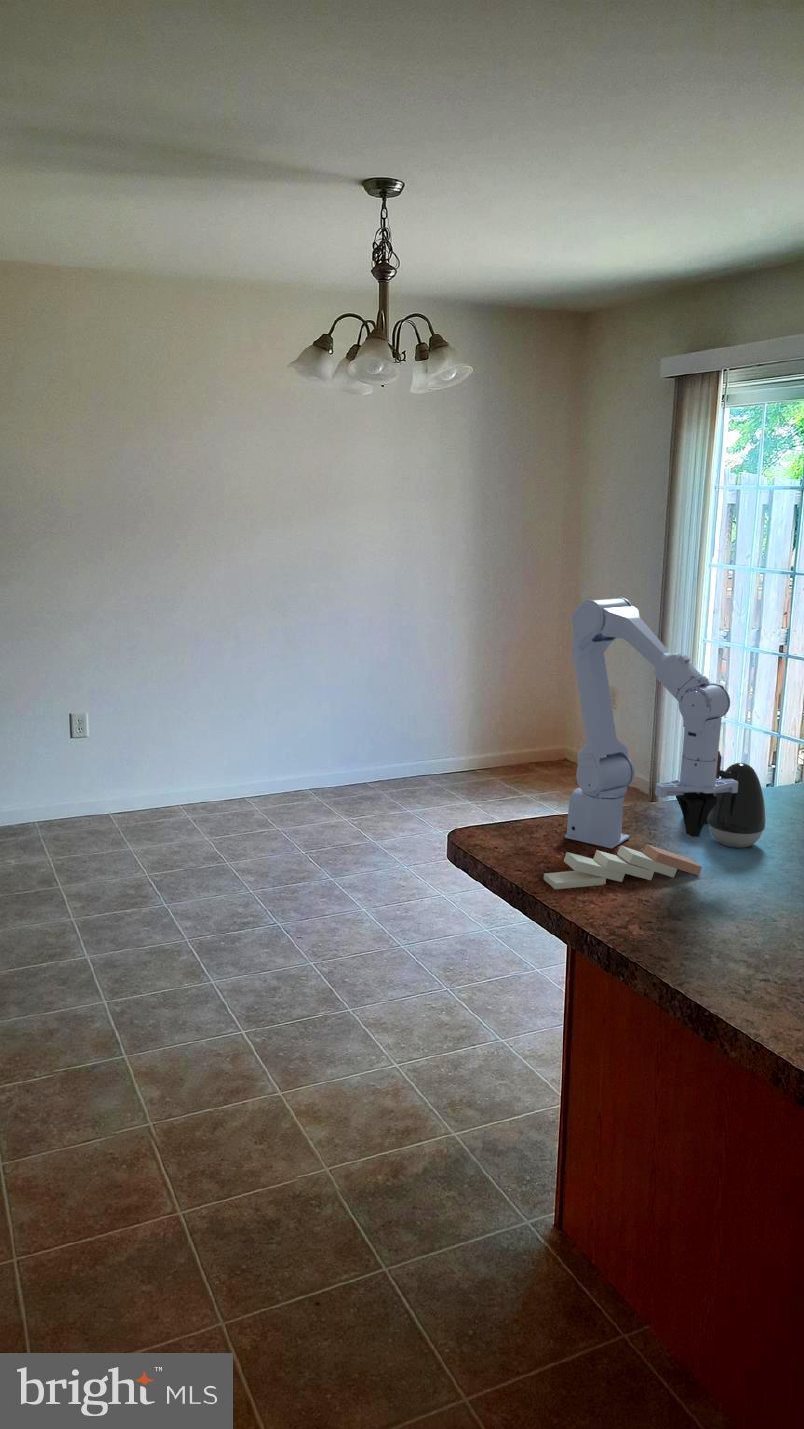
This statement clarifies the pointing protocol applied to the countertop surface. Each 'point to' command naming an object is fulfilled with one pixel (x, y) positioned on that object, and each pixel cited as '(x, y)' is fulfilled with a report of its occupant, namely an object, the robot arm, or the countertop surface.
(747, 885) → the countertop surface
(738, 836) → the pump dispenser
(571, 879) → the domino
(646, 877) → the domino
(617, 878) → the domino
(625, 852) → the domino
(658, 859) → the end domino
